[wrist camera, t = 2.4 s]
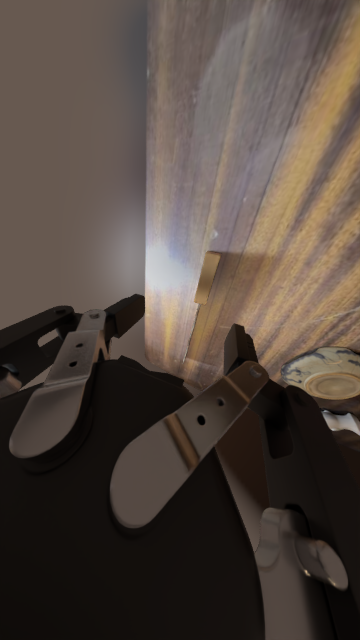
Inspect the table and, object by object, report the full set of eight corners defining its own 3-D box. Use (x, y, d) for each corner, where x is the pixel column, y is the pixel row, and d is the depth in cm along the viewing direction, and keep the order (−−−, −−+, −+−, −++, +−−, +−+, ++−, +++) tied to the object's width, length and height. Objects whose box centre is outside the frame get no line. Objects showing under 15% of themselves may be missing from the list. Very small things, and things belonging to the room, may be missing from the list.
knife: (207, 250, 22) (205, 252, 20) (221, 253, 22) (221, 255, 20) (181, 355, 39) (178, 362, 37) (188, 358, 39) (186, 365, 37)
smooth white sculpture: (309, 410, 37) (314, 406, 34) (349, 415, 34) (359, 412, 30) (315, 429, 34) (322, 427, 31) (360, 437, 31) (372, 436, 28)
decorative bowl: (388, 343, 22) (281, 348, 28) (414, 361, 19) (288, 362, 25) (362, 394, 28) (280, 389, 34) (378, 412, 25) (285, 403, 31)
